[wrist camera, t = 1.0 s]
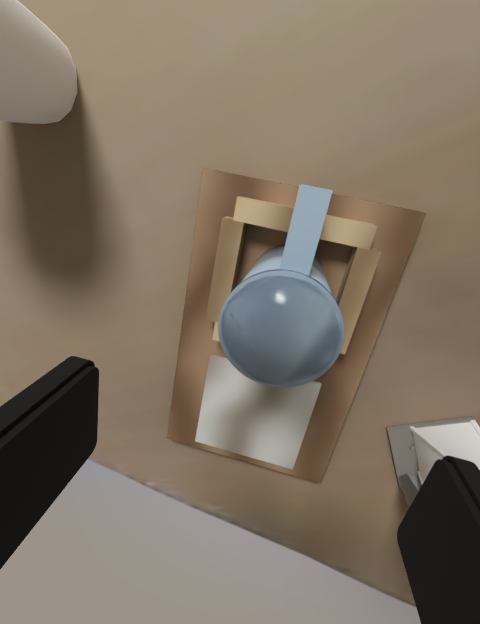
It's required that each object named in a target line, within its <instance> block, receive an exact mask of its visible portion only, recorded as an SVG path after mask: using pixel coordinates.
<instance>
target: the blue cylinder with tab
mask: <svg viewBox="0 0 480 624" xmlns="http://www.w3.org/2000/svg"><path fill="white" fill-rule="evenodd" d="M332 192H333V190H328V189H323V188H318V187H313V186H308V185H303V184H300V185H299V190H298V194H297V198H296V202H295V206H294V210H293V214H292V219H291V223H290V227H289V231H288V235H287V239H286V243H285V245H279V246H275V247H272V248H270V249H268V250H267V251H265V252H264V253H263V254H262V255H260V256H259V258H258V259H257V260H256V261H255V263H254V264H253V266H252V267H251V269H250V270H249V272H248V273H247V275H246V276H245V278H244V279H243V281H242V282H241V283H240V284H239V285H238V286H237V287H235V288H234V290H233V291H232V292H231V293H230V295H229V296H228V298H227V299H226V301H225V303H224V304H223V307H222V309H221V312H220V316H219V321H218V335H219V340H220V344H221V347H222V349H223V351H224V354H225V355H226V357H227V358H228V360H229V361H230V363H231V364H232V365H233V366H234V367H235V368H236V369H237V370H238V371H239V372H240V373H242V374H243V375H244V376H246V377H247V378H249V379H251V380H253V381H255V382H257V383H260V384H263V385H267V386H271V387H280V388H284V387H295V386H300V385H304V384H306V383H309V382H311V381H313V380H315V379H317V378H319V377H320V376H321V375H323V374H324V373H325V372H326V371H327V370H328V369H330V367H331V366H332V365H333V364H334V362H335V361H336V359H337V358H338V356H339V354H340V351H341V349H342V345H343V341H344V323H343V318H342V315H341V312H340V309H339V306H338V304H337V302H336V300H335V299H334V297H333V296H332V293H331V290H330V287H329V283H328V280H327V277H326V274H325V270H324V268H323V265H322V263H321V262H320V260H319V259H318V258H317V257H316V256H315V253H316V249H317V245H318V242H319V238H320V235H321V231H322V227H323V224H324V220H325V217H326V213H327V210H328V206H329V202H330V199H331V195H332Z"/></svg>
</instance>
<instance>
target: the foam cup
mask: <svg viewBox="0 0 480 624" xmlns="http://www.w3.org/2000/svg"><path fill="white" fill-rule="evenodd" d="M77 92H78V90H77V71H76V67H75V65H74V62H73V60H72V57H71V55H70V52H69V50H68V48H67V47H66V46H65V45H64V43H63V42H62V41H61V40H60V39H59V38H58V37H57V36H56V35H55V34H54V33H53V32H52V31H51V30H50V29H49V28H48V27H47V26H46V25H45V24H44V23H43V22H42V21H40V20H39V19H38V18H37V17H36V16H35V15H34V14H33V13H32V12H30V11H29V10H28V9H27V8H26V7H25V6H24V5H23V4H21V3H20V2H19V1H18V0H0V121H4V122H17V123H31V124H49V123H54V122H60V121H61V120H62V119H63V118H64V117H65V116H66V115H67V114H68V113H69V112H70V111H71V110H72V107H73V104H74V101H75V98H76V95H77Z"/></svg>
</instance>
